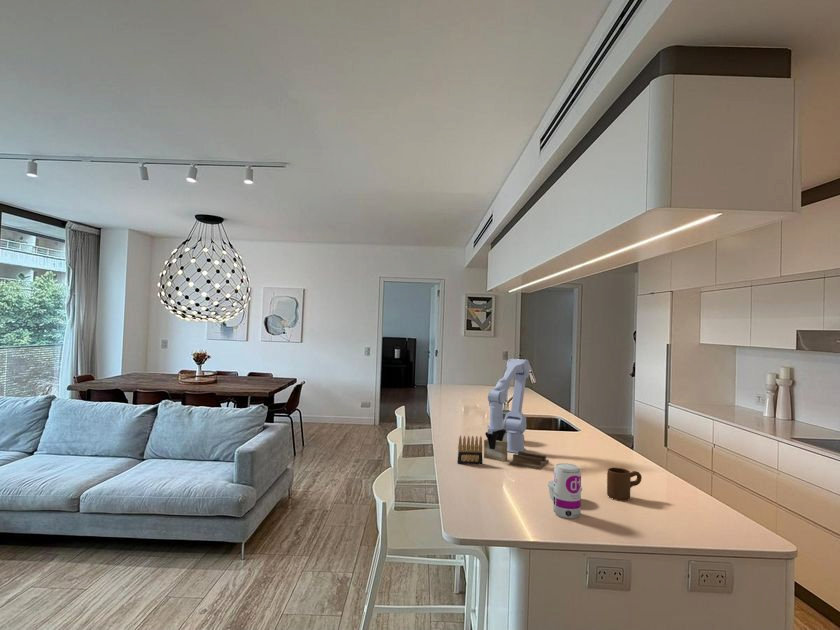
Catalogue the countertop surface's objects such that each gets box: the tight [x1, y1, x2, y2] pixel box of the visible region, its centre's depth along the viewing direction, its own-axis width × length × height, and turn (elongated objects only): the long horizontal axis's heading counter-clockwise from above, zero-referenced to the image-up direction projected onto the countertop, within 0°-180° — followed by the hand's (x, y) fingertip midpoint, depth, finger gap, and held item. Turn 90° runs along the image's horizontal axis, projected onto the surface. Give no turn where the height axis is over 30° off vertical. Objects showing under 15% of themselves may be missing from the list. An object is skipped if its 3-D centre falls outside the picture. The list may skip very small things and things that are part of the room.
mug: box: [606, 467, 643, 501], centre depth 170 cm, size 12×8×9 cm, turn 94°
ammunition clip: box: [457, 435, 484, 465], centre depth 209 cm, size 11×2×12 cm, turn 90°
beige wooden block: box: [483, 438, 508, 462], centre depth 218 cm, size 3×10×8 cm, turn 59°
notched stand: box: [509, 451, 550, 470], centre depth 211 cm, size 14×13×4 cm
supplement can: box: [552, 462, 582, 520], centre depth 153 cm, size 8×8×15 cm
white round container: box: [547, 479, 583, 502], centre depth 166 cm, size 11×11×5 cm
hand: (495, 447), depth 218 cm, fingers open, 7 cm apart
